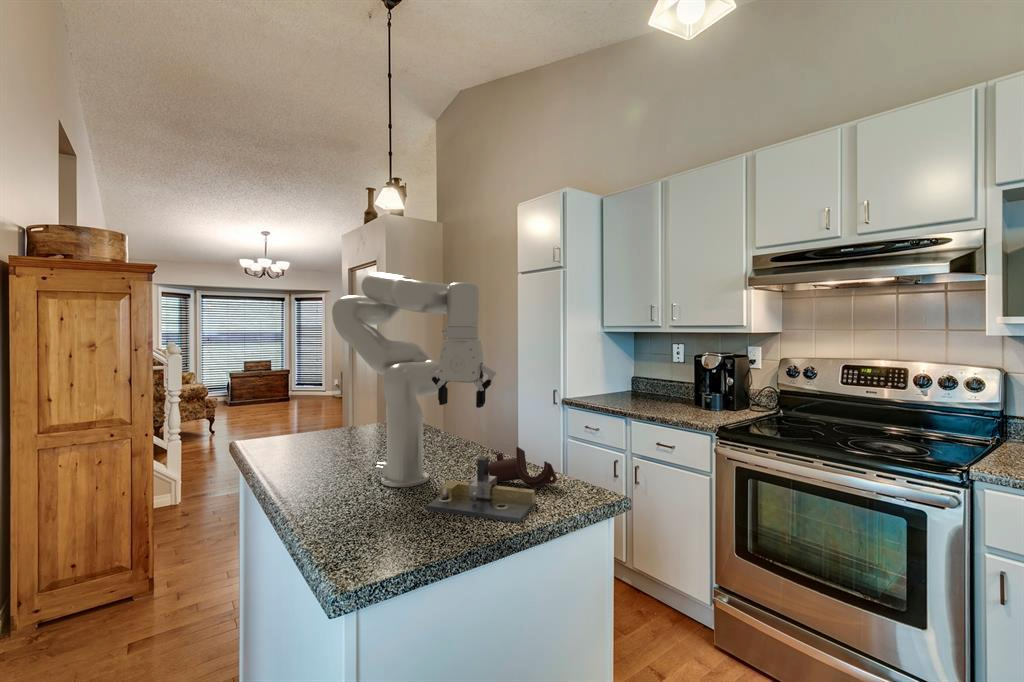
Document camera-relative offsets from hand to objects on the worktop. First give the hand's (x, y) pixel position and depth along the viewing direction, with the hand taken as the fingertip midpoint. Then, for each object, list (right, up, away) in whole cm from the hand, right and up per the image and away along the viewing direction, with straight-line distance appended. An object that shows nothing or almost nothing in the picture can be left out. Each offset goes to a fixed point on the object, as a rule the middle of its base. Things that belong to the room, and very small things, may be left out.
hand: (461, 405), depth 114 cm
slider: (+5, -21, -3) cm, 22 cm away
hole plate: (+5, -22, -6) cm, 24 cm away
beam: (+6, -21, -4) cm, 22 cm away
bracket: (+15, -22, +10) cm, 29 cm away
